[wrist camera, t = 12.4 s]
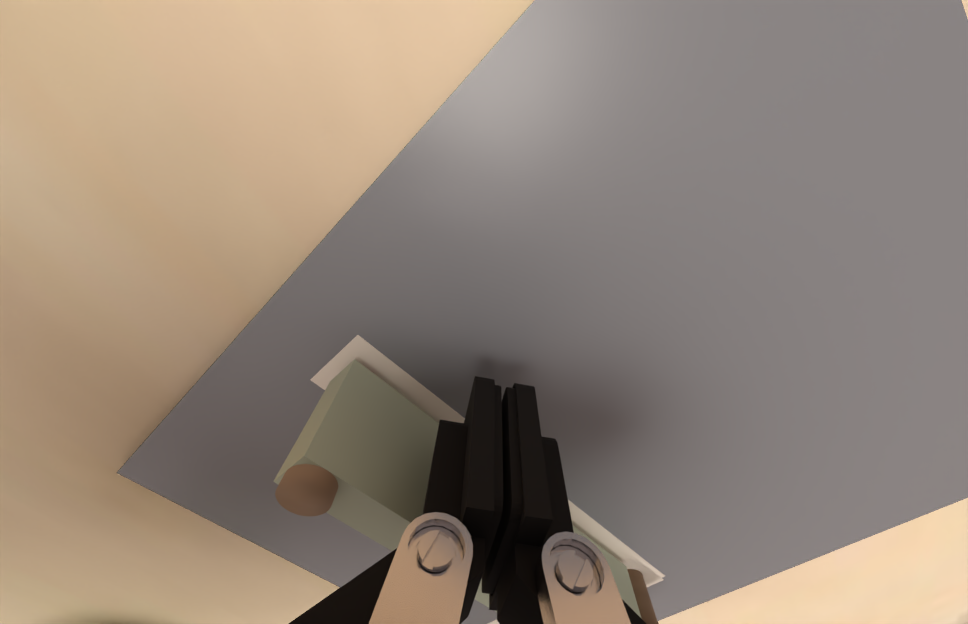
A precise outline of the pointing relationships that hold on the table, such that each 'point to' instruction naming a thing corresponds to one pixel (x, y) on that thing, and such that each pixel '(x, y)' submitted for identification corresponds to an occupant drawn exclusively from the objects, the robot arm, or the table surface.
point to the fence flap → (374, 464)
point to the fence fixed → (642, 597)
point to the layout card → (646, 288)
